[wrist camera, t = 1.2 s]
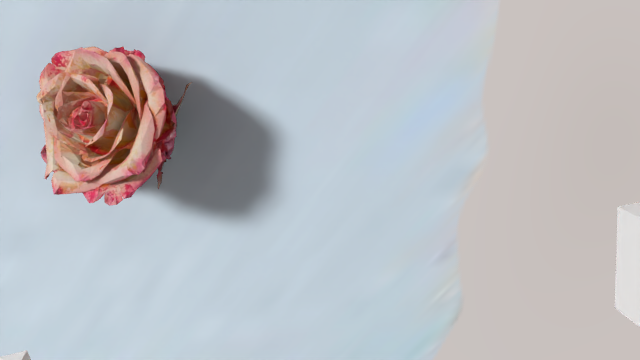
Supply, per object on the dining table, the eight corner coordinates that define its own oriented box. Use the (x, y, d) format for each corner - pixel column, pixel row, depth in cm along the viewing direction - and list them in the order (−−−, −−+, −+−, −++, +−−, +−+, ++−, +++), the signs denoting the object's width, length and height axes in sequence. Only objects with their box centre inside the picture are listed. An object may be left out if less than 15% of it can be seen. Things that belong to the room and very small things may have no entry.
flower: (241, 100, 34) (172, 56, 26) (183, 231, 34) (98, 226, 26) (127, 55, 37) (36, 4, 29) (74, 175, 37) (-30, 155, 29)
